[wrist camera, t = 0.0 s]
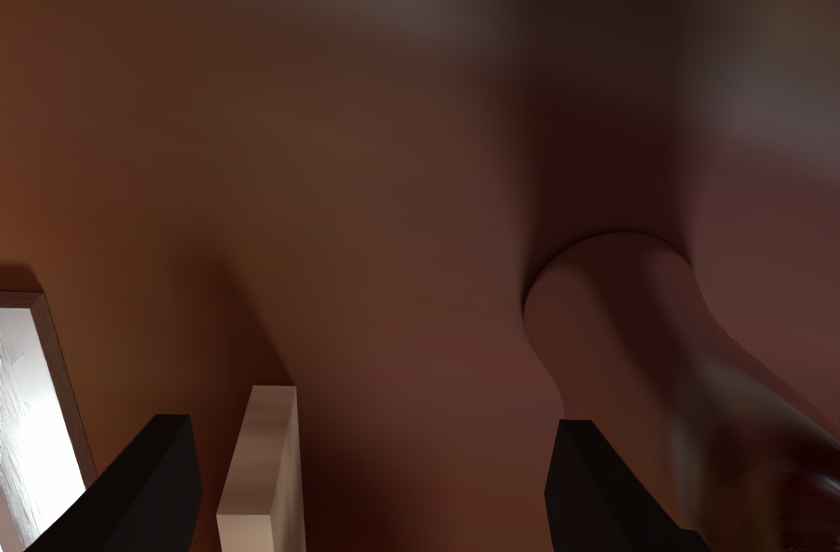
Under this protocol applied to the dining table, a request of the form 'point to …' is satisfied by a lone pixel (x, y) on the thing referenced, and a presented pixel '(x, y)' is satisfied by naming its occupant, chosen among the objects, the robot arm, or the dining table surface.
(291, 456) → the door panel
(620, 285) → the beer glass
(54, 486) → the door track
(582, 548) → the robot arm
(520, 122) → the dining table surface
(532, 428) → the dining table surface
